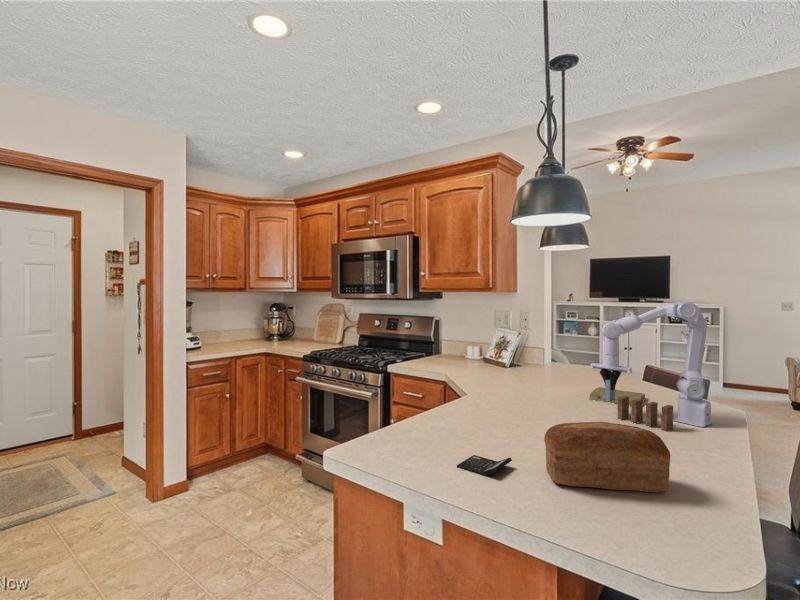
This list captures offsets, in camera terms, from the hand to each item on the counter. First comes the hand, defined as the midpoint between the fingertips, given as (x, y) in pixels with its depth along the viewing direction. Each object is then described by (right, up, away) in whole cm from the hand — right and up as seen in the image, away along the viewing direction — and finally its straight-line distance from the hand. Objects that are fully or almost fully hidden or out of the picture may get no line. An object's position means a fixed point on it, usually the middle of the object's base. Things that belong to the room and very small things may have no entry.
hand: (610, 389), depth 159 cm
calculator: (-58, -11, -48) cm, 76 cm away
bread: (-30, -11, -56) cm, 65 cm away
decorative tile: (+15, -10, +24) cm, 30 cm away
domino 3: (+6, -10, -8) cm, 14 cm away
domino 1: (0, -4, 0) cm, 4 cm away
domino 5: (+11, -10, -16) cm, 22 cm away
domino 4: (+8, -10, -12) cm, 18 cm away
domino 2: (+3, -10, -4) cm, 11 cm away
